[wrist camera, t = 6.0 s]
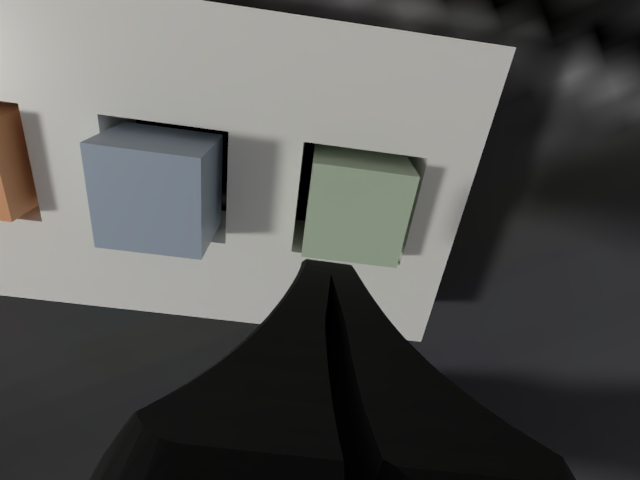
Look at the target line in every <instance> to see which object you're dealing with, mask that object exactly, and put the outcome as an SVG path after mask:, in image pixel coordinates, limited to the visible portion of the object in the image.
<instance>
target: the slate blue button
mask: <svg viewBox="0 0 640 480" xmlns="http://www.w3.org/2000/svg"><path fill="white" fill-rule="evenodd" d="M80 149H81V156H82V163H83V170H84V177H85V184H86V191H87V198H88V205H89V211H90V218H91V225H92V232H93V239H94V246H95V247H96V248H105V249H113V250H122V251H130V252H139V253H147V254H156V255H164V256H173V257H181V258H190V259H198V260H202V258H203V256H204V254H205V252H206V250H207V248H208V247H209V245H210V243H211V241H212V239H213V237H214V235H215V233H216V231H217V229H218V228H219V226H220V224H221V205H222V156H223V135H220V134H213V133H205V132H198V131H190V130H183V129H176V128H168V127H161V126H153V125H146V124H138V123H131V122H122V123H119V124H117V125H115V126H113V127H111V128H109V129H107V130H105V131H103V132H101V133H99V134H96V135H94V136H92V137H90V138H88V139H86V140H84V141H82V142H80Z"/></svg>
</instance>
